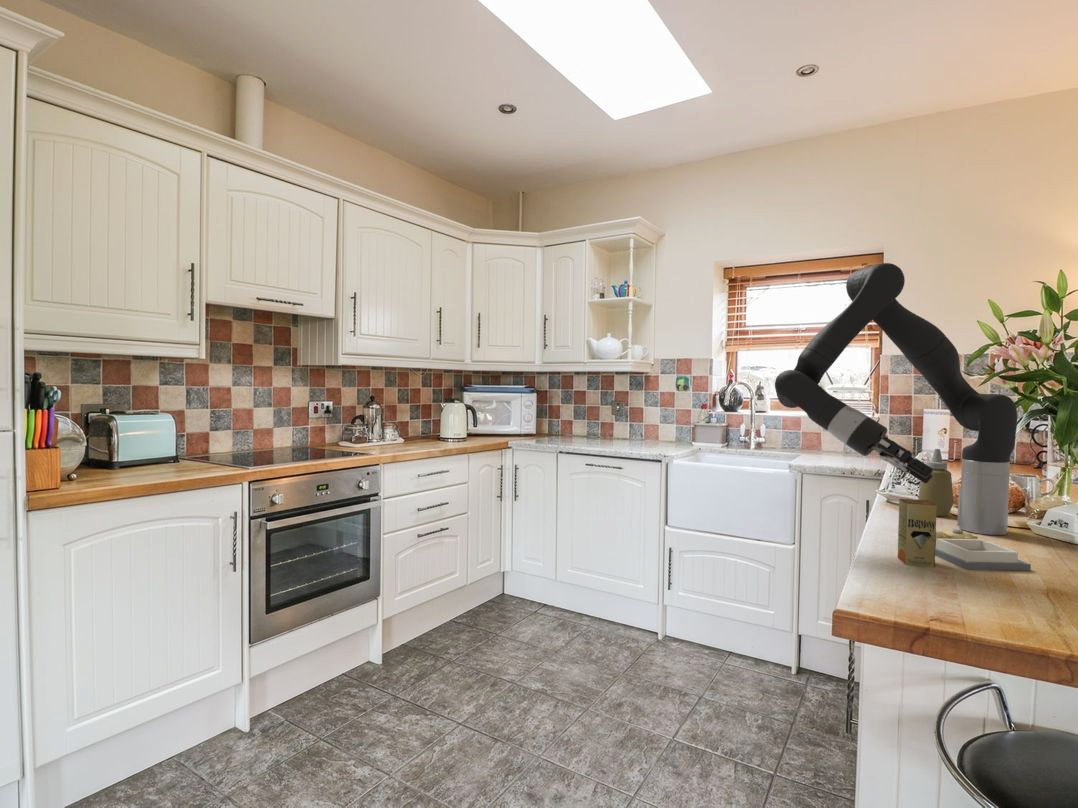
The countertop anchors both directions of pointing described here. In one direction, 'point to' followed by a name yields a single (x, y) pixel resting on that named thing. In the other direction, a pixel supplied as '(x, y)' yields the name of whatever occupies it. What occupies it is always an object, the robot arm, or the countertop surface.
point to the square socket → (989, 553)
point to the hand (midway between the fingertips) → (929, 477)
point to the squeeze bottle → (938, 486)
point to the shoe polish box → (917, 532)
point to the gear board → (974, 565)
